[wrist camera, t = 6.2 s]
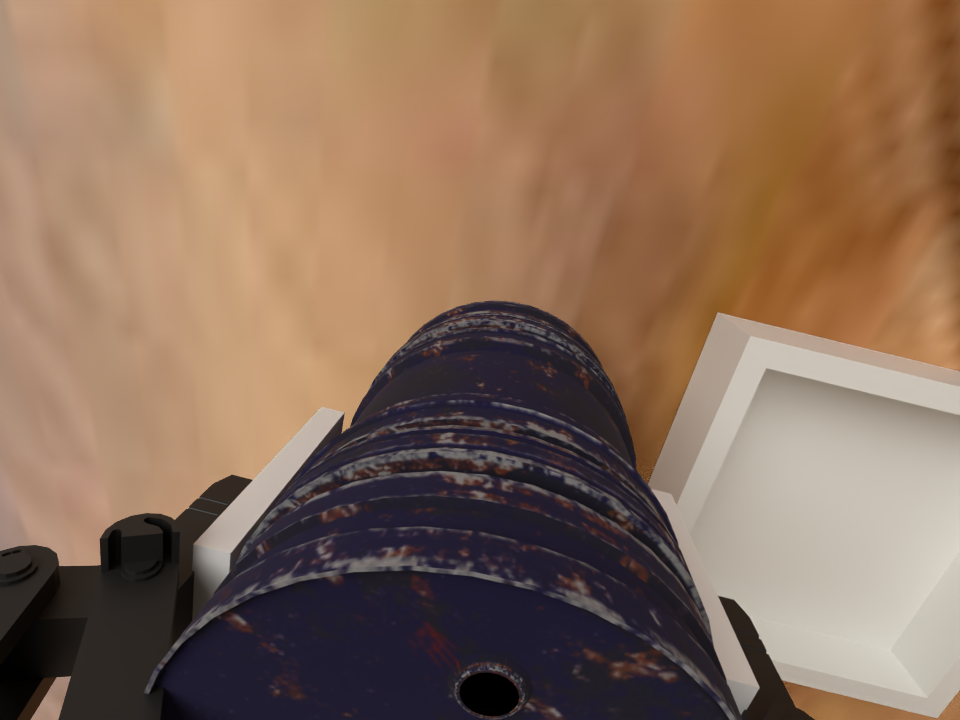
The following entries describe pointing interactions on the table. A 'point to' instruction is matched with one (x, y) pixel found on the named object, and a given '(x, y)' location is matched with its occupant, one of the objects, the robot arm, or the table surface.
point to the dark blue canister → (462, 556)
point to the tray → (827, 507)
